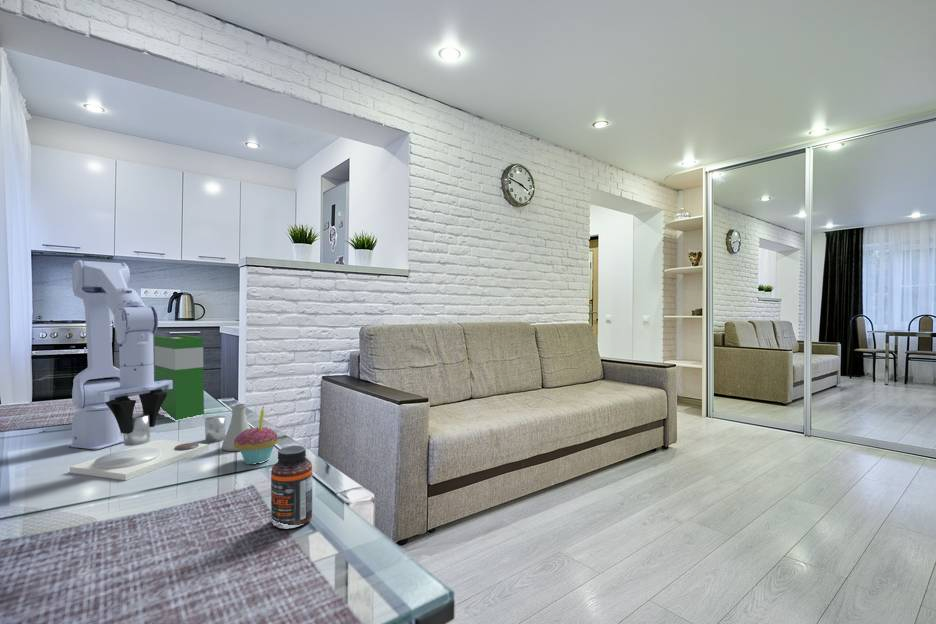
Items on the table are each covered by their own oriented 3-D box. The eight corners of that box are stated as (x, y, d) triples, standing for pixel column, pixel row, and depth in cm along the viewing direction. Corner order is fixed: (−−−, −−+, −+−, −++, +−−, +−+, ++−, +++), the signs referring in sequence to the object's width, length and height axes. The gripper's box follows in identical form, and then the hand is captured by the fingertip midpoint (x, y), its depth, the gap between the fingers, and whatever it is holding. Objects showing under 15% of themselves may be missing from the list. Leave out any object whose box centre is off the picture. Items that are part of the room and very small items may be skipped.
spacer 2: (201, 441, 110) (200, 419, 110) (215, 436, 114) (215, 415, 114) (215, 443, 109) (215, 420, 109) (229, 438, 113) (229, 416, 113)
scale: (69, 472, 90) (69, 463, 90) (158, 444, 108) (158, 436, 108) (126, 480, 86) (125, 471, 86) (208, 449, 104) (208, 441, 104)
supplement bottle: (262, 529, 67) (261, 454, 67) (285, 511, 73) (284, 442, 73) (299, 533, 66) (298, 456, 66) (319, 514, 72) (319, 443, 72)
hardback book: (155, 412, 141) (154, 336, 140) (182, 408, 146) (181, 334, 146) (176, 421, 129) (174, 338, 129) (204, 416, 135) (202, 337, 135)
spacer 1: (119, 443, 93) (119, 417, 93) (144, 438, 97) (143, 412, 97) (129, 447, 91) (128, 420, 91) (153, 441, 94) (153, 415, 94)
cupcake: (286, 456, 99) (286, 402, 99) (257, 470, 91) (256, 411, 91) (256, 452, 102) (255, 400, 102) (224, 465, 94) (223, 408, 94)
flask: (242, 453, 102) (241, 409, 102) (214, 451, 103) (213, 407, 103) (262, 443, 109) (262, 402, 109) (236, 441, 110) (236, 401, 110)
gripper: (115, 370, 85) (116, 441, 85) (182, 360, 99) (183, 422, 99) (88, 368, 87) (89, 438, 87) (158, 360, 101) (159, 420, 101)
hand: (138, 429), depth 94 cm, fingers closed on spacer 1, 4 cm apart
